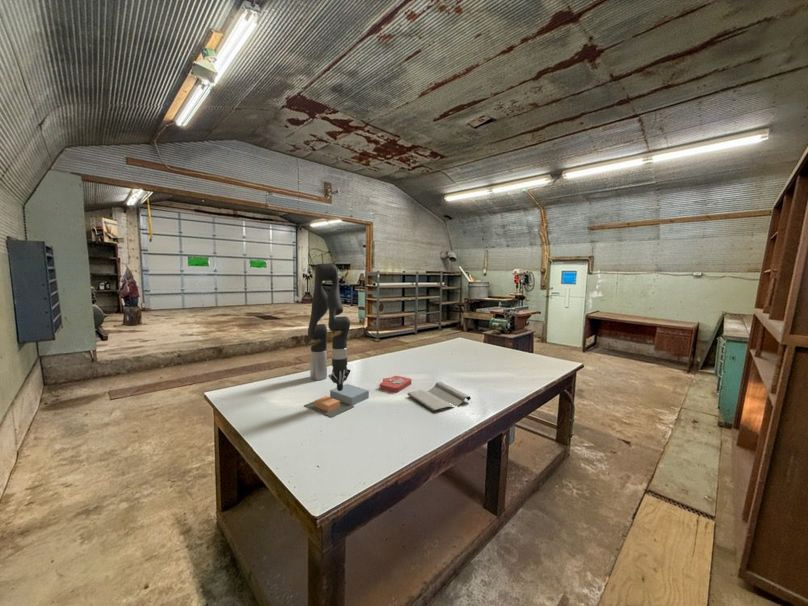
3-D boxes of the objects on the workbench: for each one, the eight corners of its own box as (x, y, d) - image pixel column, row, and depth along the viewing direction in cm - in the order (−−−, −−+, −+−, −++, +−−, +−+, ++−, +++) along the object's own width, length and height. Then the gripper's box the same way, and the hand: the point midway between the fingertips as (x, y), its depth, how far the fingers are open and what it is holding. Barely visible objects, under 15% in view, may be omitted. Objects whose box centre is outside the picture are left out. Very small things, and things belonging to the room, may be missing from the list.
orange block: (326, 395, 157) (326, 401, 158) (314, 400, 152) (314, 406, 152) (339, 400, 151) (339, 406, 152) (328, 405, 146) (328, 412, 146)
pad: (304, 405, 153) (304, 405, 153) (326, 396, 164) (326, 396, 164) (331, 417, 141) (331, 416, 141) (354, 407, 153) (354, 406, 152)
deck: (330, 397, 164) (330, 390, 163) (347, 390, 173) (347, 383, 173) (351, 405, 154) (351, 397, 154) (368, 397, 164) (368, 390, 163)
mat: (406, 397, 166) (407, 389, 165) (441, 389, 179) (441, 381, 178) (434, 414, 147) (434, 405, 146) (470, 403, 159) (471, 395, 159)
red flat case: (391, 373, 193) (412, 377, 185) (391, 379, 193) (412, 384, 186) (374, 382, 178) (396, 387, 170) (374, 388, 178) (396, 394, 171)
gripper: (344, 352, 164) (344, 384, 165) (324, 358, 153) (324, 392, 155) (354, 355, 159) (354, 388, 161) (334, 360, 149) (334, 396, 150)
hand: (339, 390), depth 158 cm, fingers closed
